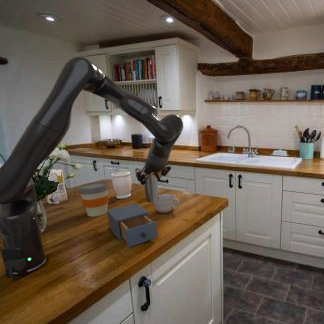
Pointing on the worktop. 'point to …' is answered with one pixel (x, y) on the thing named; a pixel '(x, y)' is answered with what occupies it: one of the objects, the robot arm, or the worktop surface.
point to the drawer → (138, 230)
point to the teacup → (166, 203)
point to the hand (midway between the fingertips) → (149, 181)
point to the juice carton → (60, 193)
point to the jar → (122, 184)
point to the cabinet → (123, 216)
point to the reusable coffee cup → (95, 198)
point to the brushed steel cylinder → (151, 189)
